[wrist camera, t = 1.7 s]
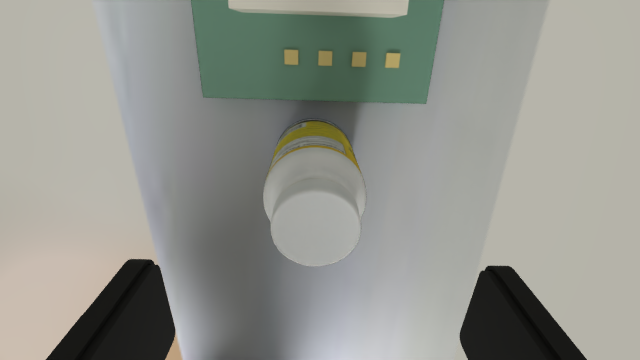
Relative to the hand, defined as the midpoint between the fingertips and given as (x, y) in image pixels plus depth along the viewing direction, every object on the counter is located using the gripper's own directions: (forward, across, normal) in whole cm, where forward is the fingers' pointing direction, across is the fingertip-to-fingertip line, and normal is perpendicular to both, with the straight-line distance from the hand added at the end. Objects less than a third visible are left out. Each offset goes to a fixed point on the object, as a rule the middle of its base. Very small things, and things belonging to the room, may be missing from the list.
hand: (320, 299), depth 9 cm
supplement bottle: (+14, 0, +1) cm, 14 cm away
